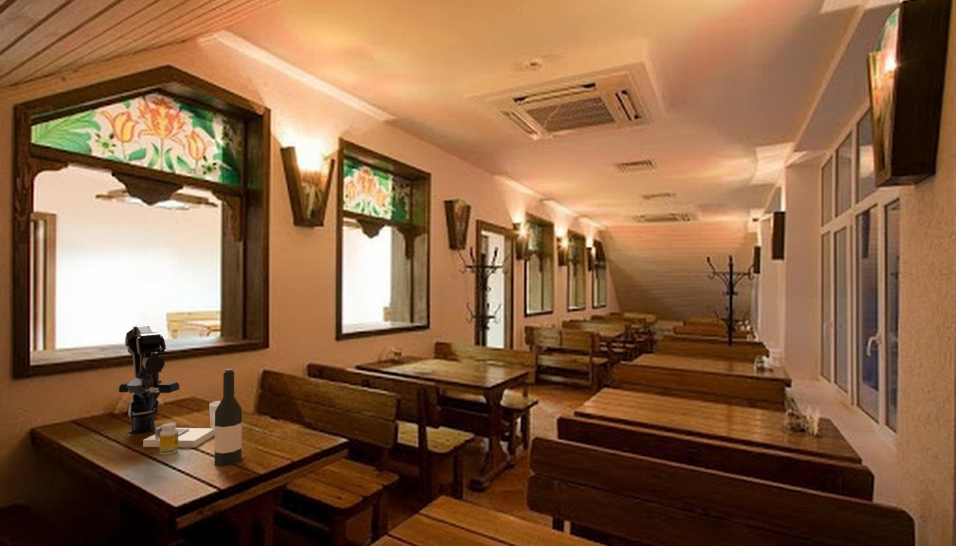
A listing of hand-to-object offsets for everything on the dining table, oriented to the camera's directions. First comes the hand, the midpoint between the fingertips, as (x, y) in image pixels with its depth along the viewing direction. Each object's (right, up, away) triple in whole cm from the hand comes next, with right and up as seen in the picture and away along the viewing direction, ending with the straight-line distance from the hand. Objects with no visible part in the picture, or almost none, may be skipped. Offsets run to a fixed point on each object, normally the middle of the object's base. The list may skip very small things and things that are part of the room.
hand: (149, 410), depth 174 cm
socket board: (+11, -11, 0) cm, 16 cm away
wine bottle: (+38, -11, -18) cm, 44 cm away
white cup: (+18, -11, +14) cm, 26 cm away
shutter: (+8, -8, 0) cm, 12 cm away
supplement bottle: (+14, -11, -11) cm, 21 cm away
